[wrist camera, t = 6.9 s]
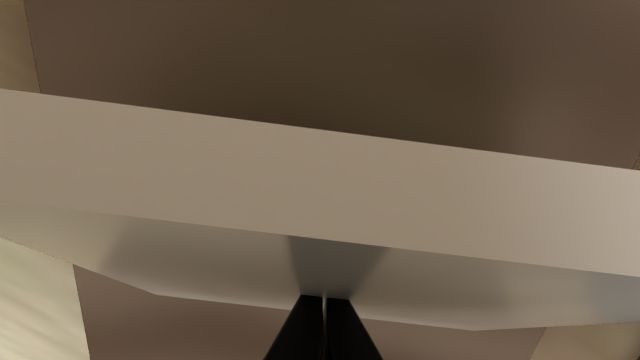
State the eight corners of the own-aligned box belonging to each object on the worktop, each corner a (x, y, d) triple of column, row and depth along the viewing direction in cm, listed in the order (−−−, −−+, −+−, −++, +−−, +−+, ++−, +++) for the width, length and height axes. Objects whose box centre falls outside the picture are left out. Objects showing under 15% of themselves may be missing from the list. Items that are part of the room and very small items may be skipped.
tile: (903, 309, 4) (868, 190, 5) (-146, 183, 4) (-94, 65, 4) (472, 330, 14) (472, 291, 14) (156, 294, 13) (165, 255, 14)
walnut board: (486, 383, 19) (497, 418, 18) (110, 342, 19) (93, 375, 17) (699, -55, 11) (748, -48, 10) (35, -154, 10) (-7, -160, 9)
